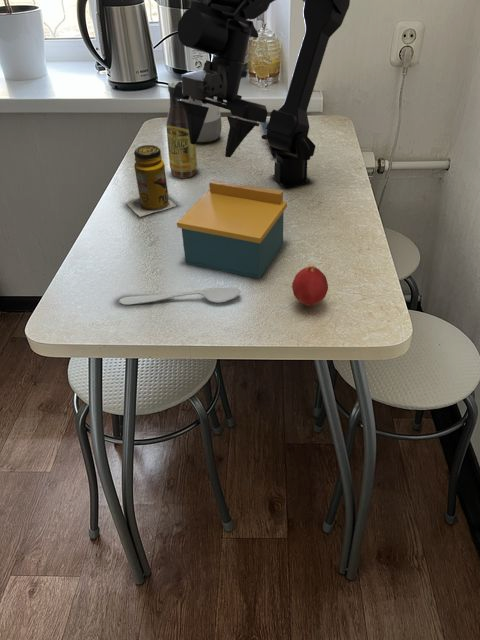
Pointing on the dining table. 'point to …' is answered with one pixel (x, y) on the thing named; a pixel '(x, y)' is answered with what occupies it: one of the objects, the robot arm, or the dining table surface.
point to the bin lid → (235, 211)
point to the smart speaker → (211, 124)
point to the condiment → (150, 182)
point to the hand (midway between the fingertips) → (209, 150)
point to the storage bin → (232, 251)
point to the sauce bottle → (179, 139)
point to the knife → (265, 135)
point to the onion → (310, 286)
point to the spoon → (209, 294)
